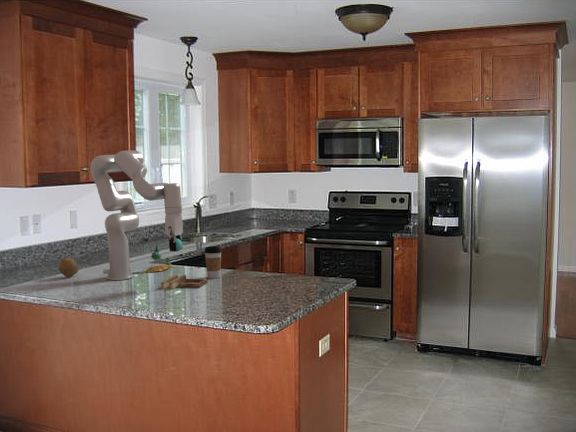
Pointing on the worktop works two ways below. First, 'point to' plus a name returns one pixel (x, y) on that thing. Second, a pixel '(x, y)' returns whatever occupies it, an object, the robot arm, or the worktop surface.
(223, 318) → the worktop surface
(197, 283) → the tray
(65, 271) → the natural sponge
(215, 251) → the coffee cup
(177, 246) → the ball
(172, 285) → the rail
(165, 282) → the rail
